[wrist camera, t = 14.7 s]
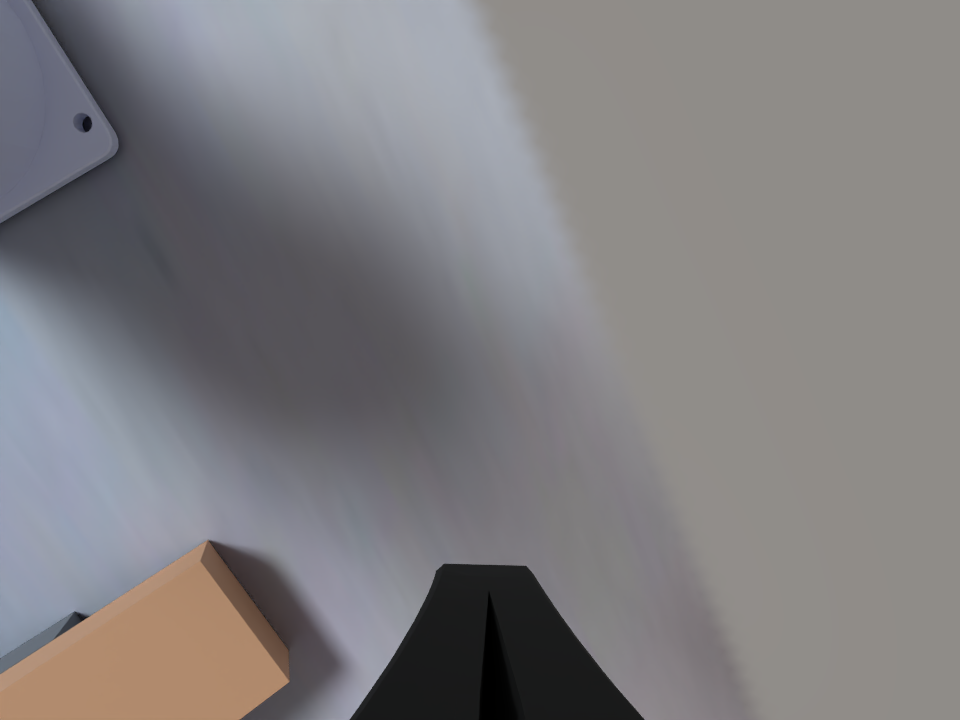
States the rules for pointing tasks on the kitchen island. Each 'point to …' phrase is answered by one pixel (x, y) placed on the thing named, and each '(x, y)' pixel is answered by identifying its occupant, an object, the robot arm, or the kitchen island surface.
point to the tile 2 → (38, 641)
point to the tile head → (156, 654)
